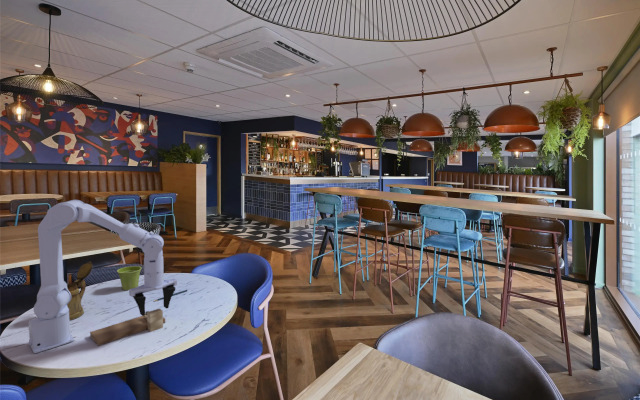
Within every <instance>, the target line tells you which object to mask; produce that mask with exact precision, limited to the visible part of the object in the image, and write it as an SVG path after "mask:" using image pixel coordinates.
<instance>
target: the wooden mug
mask: <svg viewBox="0 0 640 400" xmlns="http://www.w3.org/2000/svg"><path fill="white" fill-rule="evenodd" d="M92 271H93V263H92V261H91V260H90V261H87V262H85V263H84V264H83V265H81V266H80V267H79V268H78V270H77V272H76V280H75V281H73V283H66V284H67V288H68V290H69V292H70V293H71V300H70V302H69V303H68V304H67V307H68V308H69V321H72V320H75V319H78V318H80V317H81V316H83V315H84V313H85V310H84V307H83V306H82V299H83V296H84V294H85V292H86V287H87V284H86V281H85V279H86V278H87V277H89V275H90V274H91V273H92ZM78 287H79V288H80V289H79V288H78Z"/></svg>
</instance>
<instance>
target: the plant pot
mask: <svg viewBox="0 0 640 400" xmlns="http://www.w3.org/2000/svg"><path fill="white" fill-rule="evenodd" d="M142 269H143V268H142V266H140V265H139V266H138V265H136V266H135V265H133V266H125V267H121V268H118V269H117V270H116V272H117V274H118V276H119V279H120V284H121V289H122V290H123V291H129V289H133V288H136V287H138V286H139V281H140V276H141V275H140V273H141V270H142Z"/></svg>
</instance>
